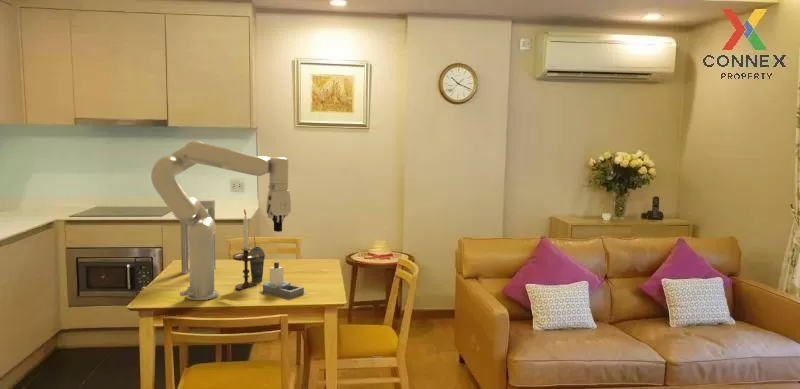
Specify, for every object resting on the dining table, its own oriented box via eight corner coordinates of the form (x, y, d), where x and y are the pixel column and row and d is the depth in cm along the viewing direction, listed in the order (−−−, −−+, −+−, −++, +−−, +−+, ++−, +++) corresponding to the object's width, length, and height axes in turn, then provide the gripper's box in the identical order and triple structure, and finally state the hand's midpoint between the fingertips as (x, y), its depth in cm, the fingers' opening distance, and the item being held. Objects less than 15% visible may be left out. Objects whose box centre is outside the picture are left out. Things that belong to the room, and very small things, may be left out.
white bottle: (276, 292, 239) (276, 264, 237) (269, 290, 241) (269, 263, 239) (283, 290, 242) (283, 262, 240) (276, 288, 244) (276, 261, 243)
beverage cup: (260, 283, 256) (260, 239, 254) (245, 282, 257) (245, 238, 255) (267, 279, 263) (267, 236, 261) (253, 278, 265) (252, 235, 262)
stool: (175, 274, 268) (173, 200, 264) (192, 266, 283) (190, 196, 279) (206, 276, 265) (204, 201, 261) (221, 268, 281) (220, 197, 276)
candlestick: (242, 293, 241) (241, 210, 237) (228, 287, 248) (227, 207, 244) (264, 288, 249) (263, 208, 245) (250, 283, 256) (249, 205, 252)
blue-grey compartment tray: (288, 302, 230) (288, 291, 229) (258, 294, 239) (258, 284, 238) (308, 295, 240) (308, 285, 239) (278, 288, 249) (278, 278, 248)
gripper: (272, 189, 227) (271, 234, 229) (297, 187, 240) (296, 230, 242) (258, 187, 231) (258, 232, 233) (284, 185, 244) (283, 227, 246)
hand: (277, 231), depth 238 cm, fingers closed
